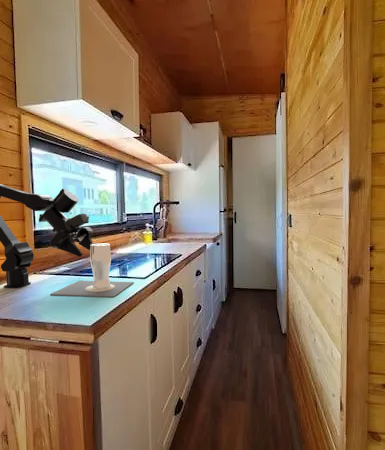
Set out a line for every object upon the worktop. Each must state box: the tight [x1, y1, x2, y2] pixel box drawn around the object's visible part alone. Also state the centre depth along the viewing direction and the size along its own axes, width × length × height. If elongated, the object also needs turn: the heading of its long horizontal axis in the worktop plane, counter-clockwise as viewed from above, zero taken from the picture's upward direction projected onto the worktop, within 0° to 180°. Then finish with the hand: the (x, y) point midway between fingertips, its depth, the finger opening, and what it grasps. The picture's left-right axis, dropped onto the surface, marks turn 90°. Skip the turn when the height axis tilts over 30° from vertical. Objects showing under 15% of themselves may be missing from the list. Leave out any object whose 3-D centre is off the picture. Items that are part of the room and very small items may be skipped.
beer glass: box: [89, 242, 112, 289], centre depth 106 cm, size 7×7×15 cm
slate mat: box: [49, 280, 134, 298], centre depth 106 cm, size 22×18×1 cm
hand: (88, 253), depth 106 cm, fingers open, 9 cm apart
